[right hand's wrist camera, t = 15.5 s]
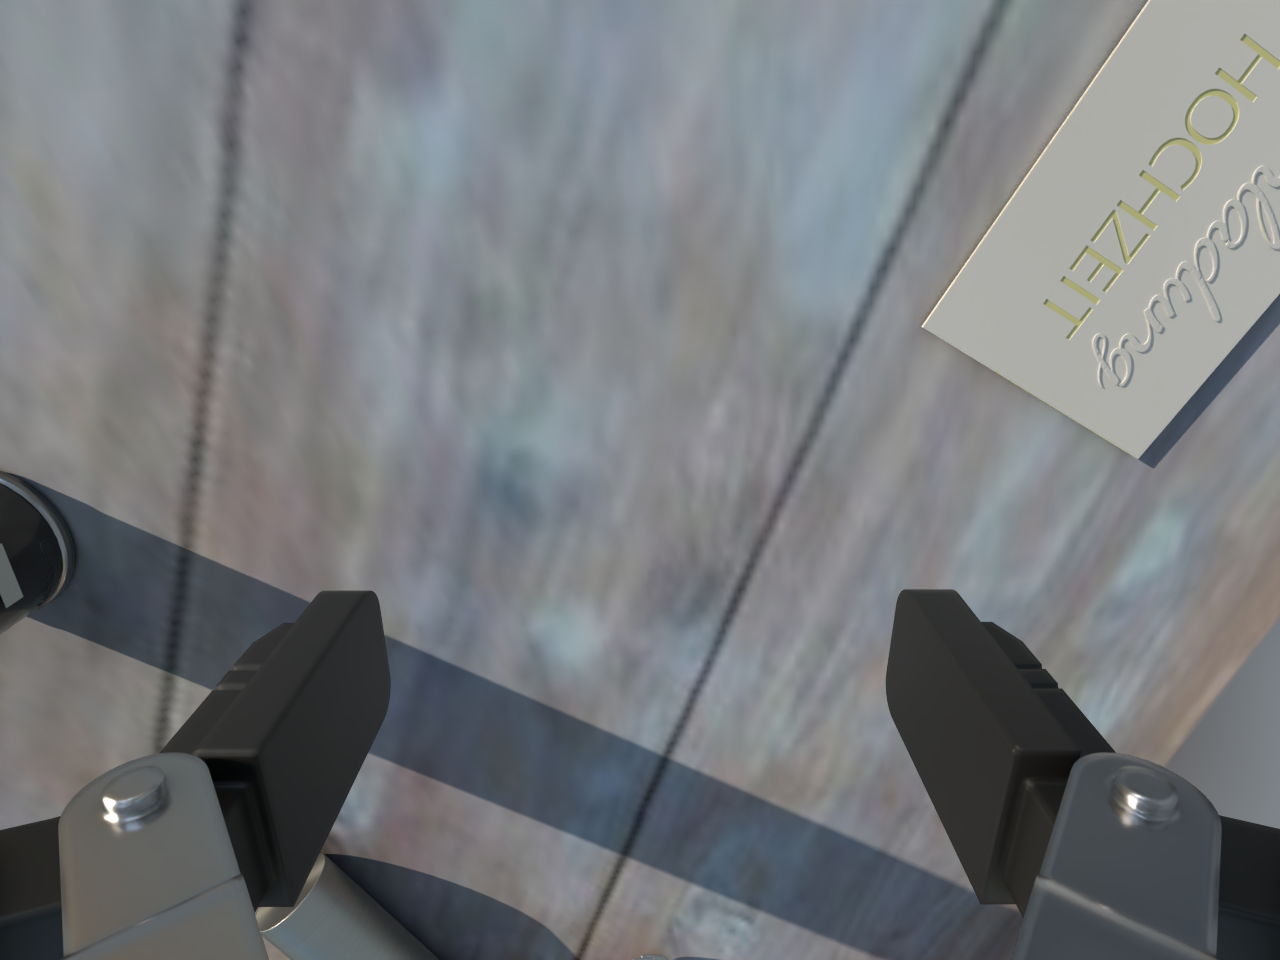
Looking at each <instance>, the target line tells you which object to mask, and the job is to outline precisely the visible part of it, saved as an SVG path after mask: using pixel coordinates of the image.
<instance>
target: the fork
mask: <svg viewBox="0 0 1280 960" xmlns="http://www.w3.org/2000/svg"><path fill="white" fill-rule="evenodd" d="M633 960H668V959H667V958H665V957H664V956H660V955H654V954H648V955H642V956H641V958H634V959H633Z"/></svg>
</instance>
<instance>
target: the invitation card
mask: <svg viewBox="0 0 1280 960" xmlns="http://www.w3.org/2000/svg"><path fill="white" fill-rule="evenodd" d="M1279 294H1280V0H1148V2H1147V3H1146V5H1145V6H1144V8H1143V9H1142V10H1141V12H1140V13H1139V15H1138V16H1137V18H1136V19H1135V21H1134V22H1133V23H1132V25H1131V26H1130V28H1129V29H1128V31H1127V32H1126V33H1125V35H1124V36H1123V38H1122V39H1121V41H1120V42H1119V44H1118V45H1117V46H1116V48H1115V49H1114V51H1113V52H1112V54H1111V55H1110V56H1109V58H1108V59H1107V61H1106V62H1105V64H1104V65H1103V67H1102V68H1101V69H1100V71H1099V72H1098V74H1097V75H1096V77H1095V78H1094V79H1093V81H1092V82H1091V84H1090V85H1089V87H1088V88H1087V90H1086V91H1085V92H1084V94H1083V95H1082V97H1081V98H1080V100H1079V101H1078V102H1077V104H1076V105H1075V107H1074V108H1073V110H1072V111H1071V113H1070V114H1069V115H1068V117H1067V118H1066V120H1065V121H1064V123H1063V124H1062V125H1061V127H1060V128H1059V130H1058V131H1057V133H1056V134H1055V136H1054V137H1053V138H1052V140H1051V141H1050V143H1049V144H1048V146H1047V147H1046V148H1045V150H1044V151H1043V153H1042V154H1041V156H1040V157H1039V159H1038V160H1037V161H1036V163H1035V164H1034V166H1033V167H1032V169H1031V170H1030V171H1029V173H1028V174H1027V176H1026V177H1025V179H1024V180H1023V182H1022V183H1021V184H1020V186H1019V187H1018V189H1017V190H1016V192H1015V193H1014V194H1013V196H1012V197H1011V199H1010V200H1009V202H1008V203H1007V205H1006V206H1005V207H1004V209H1003V210H1002V212H1001V213H1000V215H999V216H998V217H997V219H996V220H995V222H994V223H993V225H992V226H991V228H990V229H989V230H988V232H987V233H986V235H985V236H984V238H983V239H982V240H981V242H980V243H979V245H978V246H977V248H976V249H975V251H974V252H973V253H972V255H971V256H970V258H969V259H968V261H967V262H966V263H965V265H964V266H963V268H962V269H961V271H960V272H959V274H958V275H957V276H956V278H955V279H954V281H953V282H952V284H951V285H950V286H949V288H948V289H947V291H946V292H945V294H944V295H943V297H942V298H941V299H940V301H939V302H938V304H937V305H936V307H935V308H934V309H933V311H932V312H931V314H930V315H929V317H928V318H927V320H926V321H925V322H924V324H923V325H922V327H923V328H924V329H926V330H928V331H929V332H931V333H932V334H934V335H936V336H937V337H939V338H941V339H942V340H944V341H945V342H947V343H949V344H950V345H952V346H954V347H955V348H957V349H959V350H960V351H962V352H963V353H965V354H967V355H968V356H970V357H972V358H973V359H975V360H976V361H978V362H980V363H981V364H983V365H985V366H986V367H988V368H990V369H991V370H993V371H994V372H996V373H998V374H999V375H1001V376H1003V377H1004V378H1006V379H1008V380H1009V381H1011V382H1012V383H1014V384H1016V385H1017V386H1019V387H1021V388H1022V389H1024V390H1025V391H1027V392H1029V393H1030V394H1032V395H1034V396H1035V397H1037V398H1039V399H1040V400H1042V401H1043V402H1045V403H1047V404H1048V405H1050V406H1052V407H1053V408H1055V409H1056V410H1058V411H1060V412H1061V413H1063V414H1065V415H1066V416H1068V417H1070V418H1071V419H1073V420H1074V421H1076V422H1078V423H1079V424H1081V425H1083V426H1084V427H1086V428H1087V429H1089V430H1091V431H1092V432H1094V433H1096V434H1097V435H1099V436H1101V437H1102V438H1104V439H1105V440H1107V441H1109V442H1110V443H1112V444H1114V445H1115V446H1117V447H1118V448H1120V449H1122V450H1123V451H1125V452H1127V453H1128V454H1130V455H1132V456H1133V457H1135V458H1137V459H1139V457H1140V456H1141V455H1142V454H1143V453H1144V452H1145V450H1146V449H1147V448H1148V447H1149V446H1150V445H1151V443H1152V442H1153V441H1154V440H1155V439H1156V438H1157V436H1158V435H1159V434H1160V433H1161V432H1162V431H1163V429H1164V428H1165V427H1166V426H1167V425H1168V424H1169V422H1170V421H1171V420H1172V419H1173V418H1174V417H1175V415H1176V414H1177V413H1178V412H1179V411H1180V410H1181V408H1182V407H1183V406H1184V405H1185V404H1186V402H1187V401H1188V400H1189V399H1190V398H1191V397H1192V395H1193V394H1194V393H1195V392H1196V391H1197V390H1198V388H1199V387H1200V386H1201V385H1202V384H1203V383H1204V381H1205V380H1206V379H1207V378H1208V377H1209V376H1210V374H1211V373H1212V372H1213V371H1214V370H1215V369H1216V367H1217V366H1218V365H1219V364H1220V363H1221V362H1222V360H1223V359H1224V358H1225V357H1226V356H1227V355H1228V353H1229V352H1230V351H1231V350H1232V349H1233V348H1234V346H1235V345H1236V344H1237V343H1238V342H1239V341H1240V339H1241V338H1242V337H1243V336H1244V335H1245V334H1246V332H1247V331H1248V330H1249V329H1250V328H1251V327H1252V325H1253V324H1254V323H1255V322H1256V321H1257V320H1258V318H1259V317H1260V316H1261V315H1262V314H1263V313H1264V311H1265V310H1266V309H1267V308H1268V307H1269V306H1270V304H1271V303H1272V302H1273V301H1274V300H1275V299H1276V297H1277V296H1278V295H1279Z"/></svg>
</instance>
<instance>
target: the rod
mask: <svg viewBox="0 0 1280 960" xmlns="http://www.w3.org/2000/svg"><path fill="white" fill-rule="evenodd" d="M256 919H257V922H258V925H259V929H260V932H261V935H262V936H263V937H264V938H265V939H267V940H268V941H269V942H270V943H271V944H273V945H274V946H275V947H276V948H277V949H279V950H280V951H281V952H282V953H283V954H285V955H286V956H287V957H288V958H289V959H291V960H439V959H438V958H437V957H436V956H435V955H434V954H433V953H432V952H430V951H429V950H428V949H427V948H426V947H425V946H424V945H423V944H422V943H421V942H420V941H418V940H417V939H416V938H415V937H414V936H413V935H412V934H411V933H410V932H409V931H408V930H406V929H405V928H404V927H403V926H402V925H401V924H400V923H399V922H398V921H397V920H396V919H394V918H393V917H392V916H391V915H390V914H389V913H388V912H387V911H386V910H385V909H384V908H382V907H381V906H380V905H379V904H378V903H377V902H376V901H375V900H374V899H373V898H372V897H370V896H369V895H368V894H367V893H366V892H365V891H364V890H363V889H362V888H361V887H359V886H358V885H357V884H356V883H355V882H354V881H353V880H352V879H351V878H350V877H349V876H347V875H346V874H345V873H344V872H343V871H342V870H341V869H340V868H339V867H338V866H337V865H335V864H334V863H333V862H332V861H331V860H330V859H329V858H328V857H327V856H326V855H325V854H323V853H321V852H320V853H319V856H318V858H317V860H316V862H315V864H314V866H313V868H312V870H311V872H310V874H309V876H308V878H307V880H306V883H305V885H304V887H303V889H302V891H301V893H300V895H299V897H298V899H297V901H296V903H295V905H294V907H260V908H259V910H258V913H257V915H256Z"/></svg>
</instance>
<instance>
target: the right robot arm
mask: <svg viewBox="0 0 1280 960" xmlns="http://www.w3.org/2000/svg"><path fill="white" fill-rule="evenodd" d="M886 695H887V701H888V706H889V710H890V713H891V716H892V719H893V721H894V723H895V725H896V727H897V729H898V731H899V733H900V735H901V738H902V740H903V742H904V744H905V746H906V748H907V750H908V752H909V754H910V756H911V759H912V761H913V763H914V765H915V767H916V769H917V771H918V773H919V775H920V778H921V780H922V782H923V784H924V786H925V788H926V790H927V792H928V794H929V796H930V799H931V801H932V803H933V805H934V807H935V809H936V811H937V813H938V815H939V817H940V820H941V822H942V824H943V826H944V828H945V830H946V832H947V834H948V836H949V839H950V841H951V843H952V845H953V847H954V849H955V851H956V853H957V855H958V857H959V860H960V862H961V864H962V866H963V868H964V870H965V872H966V874H967V876H968V878H969V881H970V883H971V885H972V887H973V889H974V891H975V893H976V895H977V897H978V900H979V902H980V904H1016V905H1017V907H1018V909H1019V911H1020V913H1021V914H1022V916H1023V918H1024V919H1023V922H1022V925H1021V929H1020V932H1019V935H1018V938H1017V941H1016V945H1015V948H1014V951H1013V954H1012V958H1011V960H1280V829H1277V828H1273V827H1268V826H1264V825H1259V824H1255V823H1250V822H1246V821H1242V820H1237V819H1233V818H1228V817H1224V816H1220V815H1218V812H1217V811H1216V809H1215V808H1214V806H1213V804H1212V803H1211V802H1210V801H1209V800H1208V799H1207V797H1206V796H1205V795H1204V794H1203V793H1202V792H1201V791H1199V790H1198V789H1197V788H1196V787H1195V786H1194V785H1192V784H1191V783H1189V782H1188V781H1187V780H1185V779H1184V778H1182V777H1181V776H1179V775H1177V774H1176V773H1174V772H1172V771H1170V770H1168V769H1166V768H1164V767H1162V766H1160V765H1158V764H1155V763H1153V762H1150V761H1148V760H1145V759H1141V758H1138V757H1135V756H1130V755H1126V754H1119V753H1116V752H1115V751H1114V750H1113V749H1112V747H1111V746H1110V745H1109V744H1108V743H1107V742H1106V740H1105V739H1104V738H1103V737H1102V736H1101V734H1100V733H1099V732H1098V731H1097V730H1096V728H1095V727H1094V726H1093V725H1092V724H1091V723H1090V721H1089V720H1088V719H1087V718H1086V717H1085V715H1084V714H1083V713H1082V712H1081V711H1080V709H1079V708H1078V707H1077V706H1076V705H1075V704H1074V702H1073V701H1072V700H1071V699H1070V698H1069V696H1068V695H1067V694H1066V693H1065V692H1064V690H1063V689H1058V683H1057V682H1056V681H1055V680H1054V679H1053V677H1052V676H1051V675H1050V674H1049V673H1048V671H1047V670H1046V669H1042V664H1041V663H1040V662H1039V661H1038V660H1037V658H1036V657H1035V656H1034V655H1033V654H1032V652H1031V651H1030V650H1029V649H1028V648H1027V646H1026V645H1025V644H1024V643H1023V642H1022V641H1021V640H1019V639H1018V638H1016V637H1015V636H1013V635H1011V634H1010V633H1008V632H1007V631H1005V630H1004V629H1002V628H1001V627H999V626H997V625H996V624H994V623H993V622H980V620H979V619H978V618H977V617H976V615H975V614H974V613H973V612H972V610H971V609H970V608H969V606H968V605H967V604H966V603H965V601H964V600H963V599H962V597H961V596H960V595H959V594H958V593H957V592H956V591H955V590H903V591H901V593H900V594H899V597H898V600H897V604H896V610H895V617H894V624H893V631H892V638H891V645H890V652H889V659H888V666H887V673H886ZM389 698H390V672H389V665H388V659H387V652H386V645H385V638H384V631H383V624H382V618H381V611H380V605H379V601H378V598H377V595H376V594H375V593H374V592H373V591H321V592H320V593H319V594H318V595H317V596H316V597H315V598H314V600H313V601H312V602H311V603H310V605H309V606H308V607H307V608H306V610H305V611H304V612H303V613H302V615H301V616H300V617H299V618H298V620H297V621H296V622H295V623H283V624H282V625H280V626H279V627H277V628H276V629H274V630H272V631H271V632H269V633H268V634H266V635H265V636H263V637H262V638H260V639H258V640H257V641H255V642H254V643H253V644H252V645H251V646H250V647H249V648H248V649H247V651H246V652H245V653H244V654H243V655H242V656H241V658H240V659H239V660H238V661H237V662H236V664H235V665H234V666H233V671H229V672H228V673H227V674H226V675H225V676H224V678H223V679H222V680H221V681H220V682H219V684H218V685H217V690H213V691H212V692H211V693H210V694H209V695H208V697H207V698H206V699H205V700H204V701H203V702H202V704H201V705H200V706H199V707H198V708H197V709H196V711H195V712H194V713H193V714H192V715H191V717H190V718H189V719H188V720H187V721H186V722H185V724H184V725H183V726H182V727H181V728H180V729H179V731H178V732H177V733H176V734H175V735H174V737H173V738H172V739H171V740H170V741H169V742H168V744H167V745H166V746H165V747H164V748H163V749H162V751H161V752H160V753H159V754H154V755H150V756H145V757H142V758H139V759H135V760H132V761H130V762H127V763H125V764H122V765H120V766H118V767H116V768H114V769H112V770H110V771H108V772H106V773H104V774H103V775H101V776H99V777H98V778H96V779H95V780H93V781H92V782H91V783H89V784H88V785H86V786H85V787H84V788H83V789H82V790H81V791H79V792H78V793H77V794H76V795H75V796H74V797H73V799H72V800H71V801H70V802H69V803H68V804H67V806H66V808H65V809H64V811H63V812H62V815H61V816H59V817H56V818H52V819H48V820H43V821H39V822H35V823H30V824H26V825H21V826H17V827H12V828H8V829H4V830H0V960H269V958H268V954H267V951H266V948H265V945H264V941H263V938H262V935H261V932H260V929H259V925H258V922H257V919H256V916H255V912H256V910H257V908H258V907H294V905H295V903H296V901H297V899H298V897H299V895H300V893H301V891H302V889H303V887H304V885H305V883H306V880H307V878H308V876H309V874H310V872H311V870H312V868H313V866H314V864H315V862H316V860H317V858H318V856H319V853H320V851H321V849H322V847H323V845H324V843H325V841H326V839H327V837H328V835H329V833H330V831H331V829H332V826H333V824H334V822H335V820H336V818H337V816H338V814H339V812H340V810H341V808H342V806H343V804H344V802H345V799H346V797H347V795H348V793H349V791H350V789H351V787H352V785H353V783H354V781H355V779H356V777H357V774H358V772H359V770H360V768H361V766H362V764H363V762H364V760H365V758H366V756H367V754H368V752H369V750H370V747H371V745H372V743H373V741H374V739H375V737H376V735H377V733H378V731H379V729H380V727H381V725H382V723H383V720H384V718H385V716H386V712H387V709H388V704H389Z"/></svg>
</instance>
